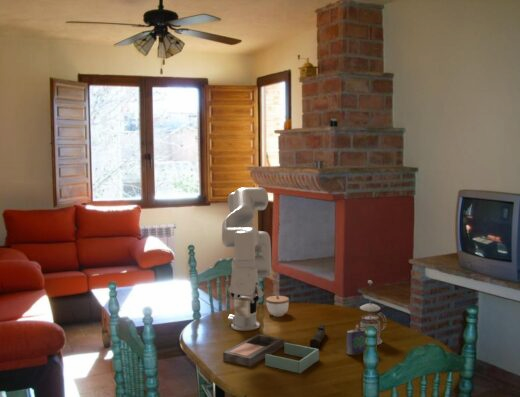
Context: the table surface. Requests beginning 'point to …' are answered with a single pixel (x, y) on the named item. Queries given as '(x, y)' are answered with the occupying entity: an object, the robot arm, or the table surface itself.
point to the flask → (355, 341)
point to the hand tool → (318, 337)
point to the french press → (371, 317)
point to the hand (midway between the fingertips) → (245, 311)
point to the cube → (243, 306)
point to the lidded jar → (277, 305)
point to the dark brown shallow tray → (253, 349)
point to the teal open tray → (293, 365)
